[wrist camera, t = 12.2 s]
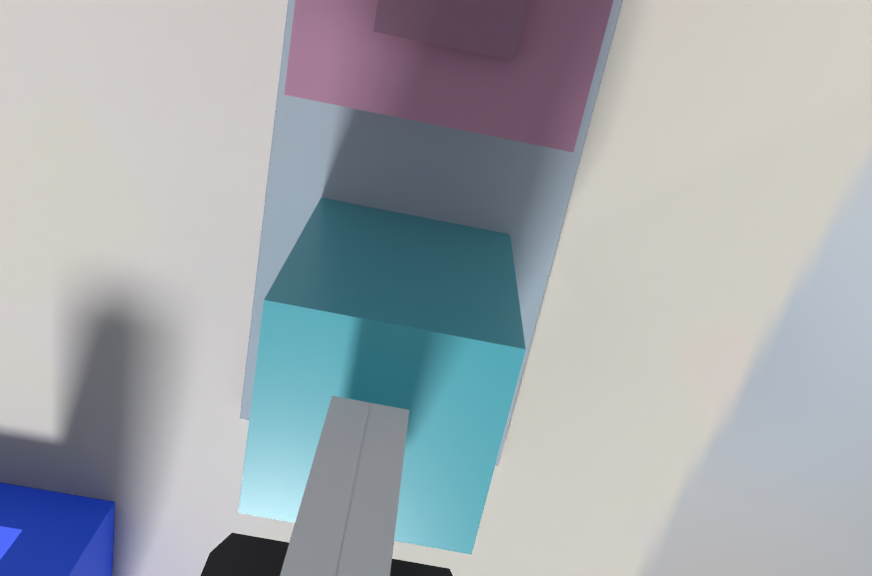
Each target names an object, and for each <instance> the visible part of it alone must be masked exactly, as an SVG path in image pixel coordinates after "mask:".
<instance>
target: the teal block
mask: <svg viewBox="0 0 872 576" xmlns="http://www.w3.org/2000/svg"><path fill="white" fill-rule="evenodd" d="M525 350H526V348H525V340H524V333H523V326H522V318H521V311H520V304H519V296H518V289H517V281H516V274H515V267H514V259H513V252H512V245H511V237H510V234H506V233H501V232H496V231H491V230H486V229H480V228H475V227H470V226H465V225H460V224H455V223H450V222H444V221H439V220H434V219H429V218H424V217H419V216H414V215H408V214H403V213H398V212H393V211H388V210H383V209H378V208H372V207H367V206H362V205H357V204H352V203H347V202H342V201H337V200H331V199H326V198H321V199H320V200H319V202H318V204H317V206H316V208H315V209H314V211H313V213H312V215H311V217H310V218H309V220H308V222H307V224H306V225H305V227H304V229H303V231H302V233H301V234H300V236H299V238H298V240H297V242H296V243H295V245H294V247H293V249H292V250H291V252H290V254H289V256H288V258H287V259H286V261H285V263H284V265H283V267H282V268H281V270H280V272H279V274H278V275H277V277H276V279H275V281H274V283H273V284H272V286H271V288H270V290H269V292H268V293H267V295H266V297H265V299H264V303H263V311H262V320H261V328H260V336H259V344H258V353H257V361H256V369H255V378H254V386H253V394H252V403H251V411H250V419H249V428H248V436H247V444H246V453H245V461H244V469H243V478H242V486H241V494H240V503H239V511H238V513H242V514H247V515H253V516H258V517H264V518H270V519H275V520H281V521H286V522H292V523H295V522H296V518H297V515H298V512H299V508H300V505H301V501H302V498H303V494H304V491H305V487H306V484H307V480H308V477H309V474H310V470H311V467H312V463H313V460H314V456H315V453H316V449H317V446H318V442H319V439H320V436H321V432H322V429H323V425H324V422H325V418H326V415H327V411H328V408H329V405H330V401H331V398H332V396H337V397H342V398H348V399H353V400H359V401H364V402H370V403H375V404H380V405H386V406H391V407H397V408H402V409H408V410H409V417H408V426H407V434H406V443H405V451H404V460H403V468H402V477H401V485H400V494H399V502H398V511H397V519H396V528H395V536H394V541H399V542H404V543H410V544H416V545H421V546H427V547H432V548H438V549H444V550H449V551H455V552H460V553H466V554H472V550H473V547H474V543H475V539H476V535H477V532H478V528H479V524H480V520H481V516H482V513H483V509H484V505H485V501H486V498H487V494H488V490H489V486H490V482H491V479H492V475H493V471H494V467H495V464H496V460H497V456H498V452H499V448H500V445H501V441H502V437H503V433H504V429H505V426H506V422H507V418H508V414H509V411H510V407H511V403H512V399H513V395H514V392H515V388H516V384H517V380H518V377H519V373H520V369H521V365H522V361H523V358H524V354H525Z"/></svg>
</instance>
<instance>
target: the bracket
mask: <svg viewBox="0 0 872 576" xmlns="http://www.w3.org/2000/svg"><path fill="white" fill-rule="evenodd" d="M114 508H115V502H112V501H106V500H100V499H94V498H88V497H83V496H77V495H71V494H65V493H59V492H53V491H47V490H41V489H35V488H30V487H24V486H18V485H12V484H6V483H0V576H112V565H113V537H114Z"/></svg>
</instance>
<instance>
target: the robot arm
mask: <svg viewBox="0 0 872 576" xmlns="http://www.w3.org/2000/svg"><path fill="white" fill-rule="evenodd" d="M408 417H409V410H408V409H402V408H397V407H391V406H386V405H380V404H375V403H370V402H364V401H359V400H353V399H348V398H342V397H337V396H332V398H331V401H330V405H329V408H328V411H327V415H326V418H325V422H324V425H323V429H322V432H321V436H320V439H319V442H318V446H317V449H316V453H315V456H314V460H313V463H312V467H311V470H310V474H309V477H308V480H307V484H306V487H305V491H304V494H303V498H302V501H301V505H300V508H299V512H298V515H297V518H296V522H295V525H294V529H293V532H292V536H291V539H290V543H287V542H281V541H276V540H270V539H264V538H259V537H253V536H247V535H242V534H236V533H231V534H230V535H229V536H228V537H227V538H226V539H225V540H224V541H223V542H222V543H220V544H219V545H218V546H217V547H216V548H215V549H214V550H213V551H212V552H210V554H209V557H208V559H207V561H206V564H205V566H204V569H203V571H202V574H201V576H453V575H452V573H451V571H450V569H447V568H442V567H436V566H430V565H424V564H419V563H413V562H407V561H402V560H396V559H392V553H393V545H394V536H395V528H396V519H397V511H398V502H399V494H400V485H401V477H402V468H403V460H404V451H405V443H406V434H407V426H408Z"/></svg>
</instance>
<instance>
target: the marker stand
mask: <svg viewBox="0 0 872 576" xmlns="http://www.w3.org/2000/svg"><path fill="white" fill-rule="evenodd" d="M622 1H623V0H288V8H287V16H286V25H285V33H284V42H283V51H282V59H281V68H280V77H279V85H278V94H277V102H276V111H275V120H274V128H273V137H272V146H271V154H270V163H269V171H268V180H267V189H266V197H265V206H264V215H263V223H262V232H261V240H260V249H259V258H258V266H257V275H256V284H255V292H254V301H253V309H252V318H251V327H250V335H249V344H248V353H247V361H246V370H245V378H244V387H243V396H242V404H241V413H240V418H241V419H246V420H249V419H250V411H251V403H252V394H253V386H254V378H255V369H256V361H257V353H258V344H259V336H260V328H261V320H262V311H263V303H264V299H265V297H266V295H267V293H268V292H269V290H270V288H271V286H272V284H273V283H274V281H275V279H276V277H277V275H278V274H279V272H280V270H281V268H282V267H283V265H284V263H285V261H286V259H287V258H288V256H289V254H290V252H291V250H292V249H293V247H294V245H295V243H296V242H297V240H298V238H299V236H300V234H301V233H302V231H303V229H304V227H305V225H306V224H307V222H308V220H309V218H310V217H311V215H312V213H313V211H314V209H315V208H316V206H317V204H318V202H319V200H320V199H321V198H326V199H331V200H337V201H342V202H347V203H352V204H357V205H362V206H367V207H372V208H378V209H383V210H388V211H393V212H398V213H403V214H408V215H414V216H419V217H424V218H429V219H434V220H439V221H444V222H450V223H455V224H460V225H465V226H470V227H475V228H480V229H486V230H491V231H496V232H501V233H506V234H510V237H511V245H512V252H513V259H514V267H515V274H516V281H517V289H518V296H519V304H520V311H521V318H522V326H523V333H524V340H525V348H526V350H525V354H524V358H523V361H522V365H521V369H520V373H519V377H518V380H517V384H516V388H515V392H514V395H513V399H512V403H511V407H510V411H509V414H508V418H507V422H506V426H505V429H504V433H503V437H502V441H501V445H500V448H499V452H498V456H497V460H496V464H495V465H497V466H498V464H499V460H500V457H501V453H502V449H503V445H504V442H505V438H506V434H507V430H508V427H509V423H510V419H511V416H512V412H513V408H514V404H515V401H516V397H517V393H518V389H519V386H520V382H521V378H522V374H523V371H524V367H525V363H526V359H527V356H528V352H529V348H530V345H531V341H532V337H533V333H534V330H535V326H536V322H537V318H538V315H539V311H540V307H541V303H542V300H543V296H544V292H545V288H546V285H547V281H548V277H549V273H550V270H551V266H552V262H553V259H554V255H555V251H556V247H557V244H558V240H559V236H560V232H561V229H562V225H563V221H564V217H565V214H566V210H567V206H568V202H569V199H570V195H571V191H572V188H573V184H574V180H575V176H576V173H577V169H578V165H579V161H580V158H581V154H582V150H583V146H584V143H585V139H586V135H587V131H588V128H589V124H590V120H591V117H592V113H593V109H594V105H595V102H596V98H597V94H598V90H599V87H600V83H601V79H602V75H603V72H604V68H605V64H606V60H607V57H608V53H609V49H610V46H611V42H612V38H613V34H614V31H615V27H616V23H617V19H618V16H619V12H620V8H621V4H622Z"/></svg>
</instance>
